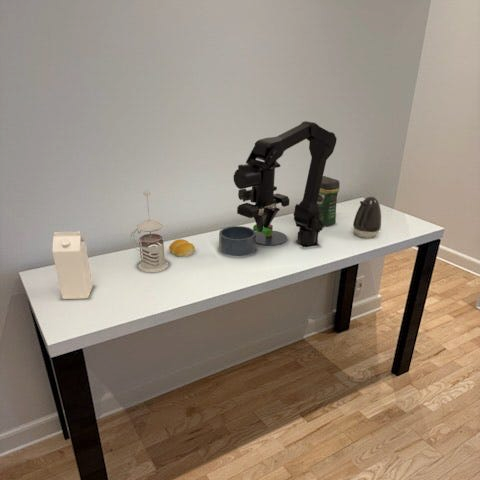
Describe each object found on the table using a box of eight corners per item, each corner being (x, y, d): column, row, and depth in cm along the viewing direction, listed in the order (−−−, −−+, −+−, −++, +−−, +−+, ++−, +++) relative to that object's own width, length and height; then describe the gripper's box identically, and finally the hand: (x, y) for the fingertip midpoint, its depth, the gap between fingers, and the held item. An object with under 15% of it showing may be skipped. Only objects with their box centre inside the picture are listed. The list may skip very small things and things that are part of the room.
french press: (160, 274, 140) (153, 197, 128) (127, 268, 143) (118, 193, 131) (173, 261, 149) (168, 187, 136) (142, 256, 151) (134, 184, 139)
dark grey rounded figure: (345, 233, 172) (351, 195, 164) (365, 228, 177) (371, 191, 169) (364, 242, 164) (371, 203, 157) (384, 237, 169) (392, 198, 161)
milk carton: (68, 287, 132) (56, 227, 123) (93, 286, 133) (82, 227, 123) (62, 299, 126) (49, 237, 117) (88, 298, 127) (77, 237, 117)
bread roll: (180, 259, 150) (179, 248, 148) (166, 251, 156) (165, 240, 154) (200, 253, 154) (199, 242, 152) (185, 244, 160) (185, 234, 158)
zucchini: (251, 230, 147) (251, 224, 146) (256, 229, 148) (256, 223, 147) (269, 238, 142) (270, 231, 141) (274, 236, 143) (274, 229, 142)
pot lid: (278, 231, 173) (279, 217, 170) (293, 244, 162) (294, 230, 159) (245, 235, 169) (245, 221, 166) (258, 249, 158) (258, 234, 155)
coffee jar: (338, 224, 180) (344, 179, 171) (324, 228, 176) (329, 182, 167) (321, 217, 187) (326, 173, 178) (307, 220, 183) (311, 176, 174)
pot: (248, 240, 164) (248, 224, 161) (260, 254, 154) (261, 237, 151) (215, 245, 161) (214, 228, 158) (225, 259, 150) (225, 241, 147)
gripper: (266, 172, 148) (264, 217, 155) (224, 183, 136) (224, 231, 144) (292, 179, 141) (288, 226, 148) (250, 191, 129) (249, 241, 137)
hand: (262, 230), depth 144 cm, fingers closed on zucchini, 2 cm apart
